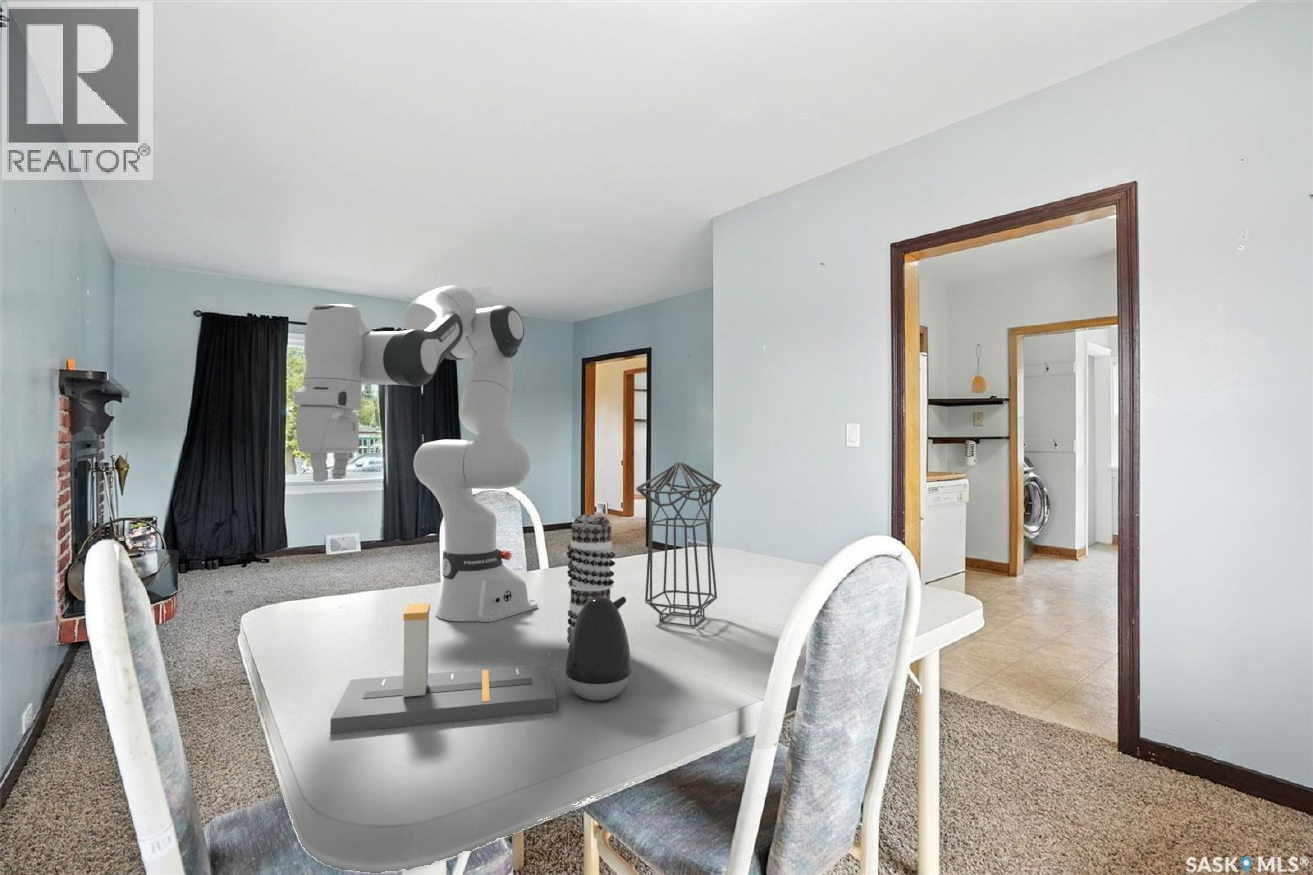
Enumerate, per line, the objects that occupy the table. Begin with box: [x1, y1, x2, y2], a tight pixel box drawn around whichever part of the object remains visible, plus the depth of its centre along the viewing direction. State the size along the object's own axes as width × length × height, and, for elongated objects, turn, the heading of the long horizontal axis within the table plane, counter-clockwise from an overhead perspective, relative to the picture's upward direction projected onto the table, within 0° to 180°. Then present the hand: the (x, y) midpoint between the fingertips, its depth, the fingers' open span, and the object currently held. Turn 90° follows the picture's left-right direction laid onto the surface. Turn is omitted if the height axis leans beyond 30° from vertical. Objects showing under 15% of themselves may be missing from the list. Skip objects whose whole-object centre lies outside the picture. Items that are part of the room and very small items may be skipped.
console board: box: [329, 663, 558, 735], centre depth 95 cm, size 30×14×2 cm, turn 106°
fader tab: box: [402, 602, 431, 697], centre depth 94 cm, size 3×5×12 cm, turn 16°
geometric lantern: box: [635, 461, 723, 628], centre depth 140 cm, size 16×16×35 cm
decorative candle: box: [566, 514, 616, 648], centre depth 121 cm, size 9×9×25 cm
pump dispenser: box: [565, 596, 632, 702], centre depth 99 cm, size 10×10×15 cm
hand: (330, 480), depth 107 cm, fingers open, 8 cm apart
